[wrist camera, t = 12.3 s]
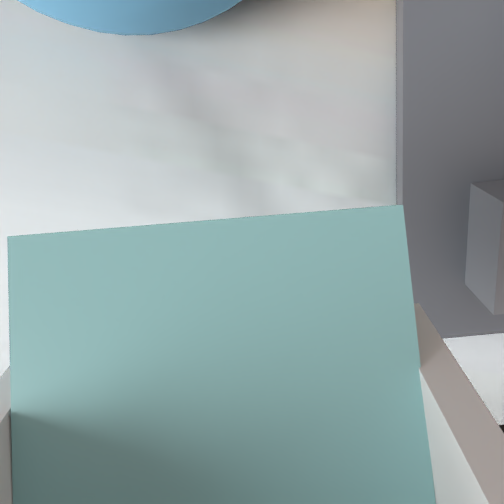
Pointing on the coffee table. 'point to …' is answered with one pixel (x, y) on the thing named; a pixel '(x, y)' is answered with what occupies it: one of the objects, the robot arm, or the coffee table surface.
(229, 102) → the coffee table surface
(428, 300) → the grey base plate
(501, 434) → the robot arm
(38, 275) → the lid
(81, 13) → the sugar bowl
